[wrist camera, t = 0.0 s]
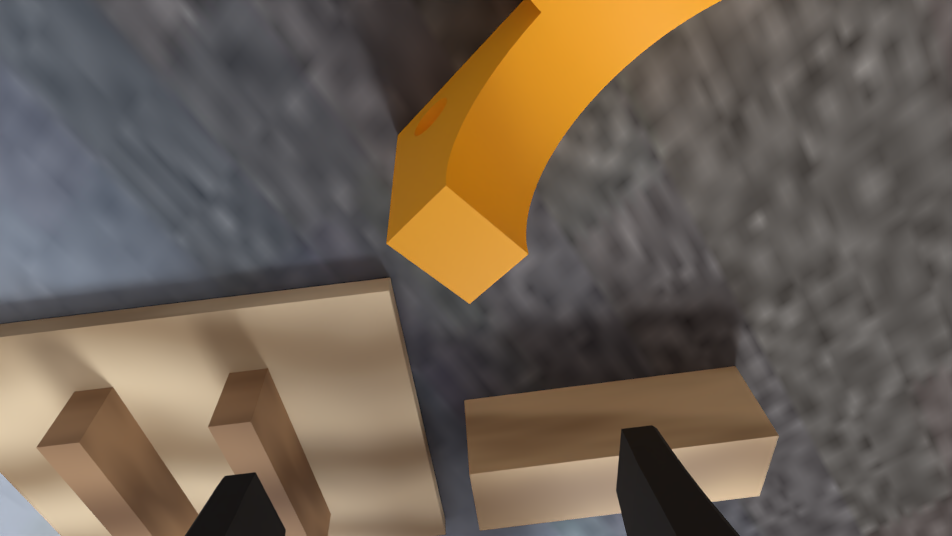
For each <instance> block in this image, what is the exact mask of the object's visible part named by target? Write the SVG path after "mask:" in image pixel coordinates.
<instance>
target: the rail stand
mask: <svg viewBox="0 0 952 536" xmlns="http://www.w3.org/2000/svg"><path fill="white" fill-rule="evenodd" d="M253 472H256V474H257V476H258V478H259V479H260V481H261V483H262V485H263V487H264V489H265V491H266V493H267V495H268V497H269V499H270V500H271V502H272V504H273V506H274V508H275V510H276V512H277V514H278V516H279V518H280V520H281V522H282V523H283V525H284V527H285V529H286V533H285V536H438V535H446V530H445V517H444V512H443V508H442V504H441V499H440V495H439V490H438V486H437V482H436V477H435V473H434V468H433V464H432V460H431V455H430V451H429V446H428V442H427V438H426V433H425V429H424V425H423V420H422V416H421V411H420V407H419V403H418V398H417V394H416V389H415V385H414V381H413V376H412V372H411V367H410V363H409V359H408V354H407V350H406V345H405V341H404V337H403V332H402V328H401V323H400V319H399V315H398V310H397V306H396V301H395V297H394V293H393V288H392V284H391V279H390V278H383V279H374V280H366V281H358V282H349V283H341V284H332V285H324V286H316V287H307V288H299V289H291V290H282V291H274V292H265V293H257V294H249V295H240V296H232V297H224V298H215V299H207V300H198V301H190V302H182V303H173V304H165V305H157V306H148V307H140V308H131V309H123V310H115V311H106V312H98V313H90V314H81V315H73V316H64V317H56V318H48V319H39V320H31V321H23V322H14V323H6V324H0V473H1V474H2V475H3V476H4V477H5V478H6V479H7V480H8V481H9V482H10V483H11V484H12V485H13V486H14V487H15V488H16V489H17V490H18V491H19V492H20V493H21V494H22V495H23V497H24V498H25V499H26V500H27V501H28V502H29V503H30V504H31V505H32V506H33V507H34V508H35V509H36V510H37V511H38V512H39V513H40V514H41V515H42V516H43V517H44V518H45V520H46V521H47V522H48V523H49V524H50V525H51V526H52V527H53V528H54V529H55V530H56V531H57V532H58V533H59V534H60V535H61V536H185V534H186V533H187V531H188V530H189V528H190V527H191V525H192V524H193V522H194V521H195V519H196V518H197V516H198V515H199V513H200V512H201V510H202V509H203V507H204V505H205V504H206V502H207V501H208V499H209V498H210V496H211V495H212V493H213V492H214V490H215V489H216V487H217V486H218V484H219V483H220V481H221V480H222V478H223V477H224V476H228V475H236V474H245V473H253Z"/></svg>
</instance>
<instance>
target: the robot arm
mask: <svg viewBox="0 0 952 536" xmlns="http://www.w3.org/2000/svg"><path fill="white" fill-rule="evenodd" d="M616 493H617V497H618V501H619V505H620V509H621V513H622V517H623V521H624V525H625V529H626V533H627V536H740V535H739V534H738V533H737V532H736V531H735V530H734V528H733V527H732V526H731V525H730V524H729V522H728V521H727V520H726V519H725V518H724V516H723V515H722V514H721V513H720V512H719V510H718V509H717V508H716V507H715V506H714V504H713V503H712V502H711V501H710V499H709V498H708V497H707V496H706V494H705V493H704V492H703V491H702V489H701V488H700V487H699V485H698V484H697V483H696V482H695V480H694V479H693V478H692V476H691V475H690V474H689V472H688V471H687V470H686V468H685V467H684V466H683V464H682V463H681V462H680V460H679V459H678V458H677V456H676V455H675V454H674V452H673V451H672V449H671V448H670V447H669V445H668V444H667V442H666V441H665V439H664V438H663V437H662V435H661V434H660V432H659V431H658V429H657V428H656V427H654V426H653V425H649V426H641V427H632V428H624V429H621V438H620V450H619V461H618V473H617V485H616ZM285 533H286V529H285V527H284V525H283V523H282V522H281V520H280V518H279V516H278V514H277V512H276V510H275V508H274V506H273V504H272V502H271V500H270V499H269V497H268V495H267V493H266V491H265V489H264V487H263V485H262V483H261V481H260V479H259V478H258V476H257V474H256V472H253V473H245V474H236V475H228V476H224V477H223V478H222V480H221V481H220V483H219V484H218V486H217V487H216V489H215V490H214V492H213V493H212V495H211V496H210V498H209V499H208V501H207V502H206V504H205V505H204V507H203V509H202V510H201V512H200V513H199V515H198V516H197V518H196V519H195V521H194V522H193V524H192V525H191V527H190V528H189V530H188V531H187V533H186V534H185V536H285Z"/></svg>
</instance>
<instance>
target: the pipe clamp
mask: <svg viewBox="0 0 952 536" xmlns="http://www.w3.org/2000/svg"><path fill="white" fill-rule="evenodd" d="M719 1H721V0H523V1H522V2H521V3H520V4H519V5H518V7H517V8H516V9H515V10H514V11H513V12H512V13H511V14H510V15H509V16H508V17H507V18H506V19H505V21H504V22H503V23H502V24H501V25H500V26H499V27H498V28H497V29H496V30H495V31H494V32H493V33H492V35H491V36H490V37H489V38H488V39H487V40H486V41H485V42H484V43H483V44H482V45H481V46H480V47H479V48H478V50H477V51H476V52H475V53H474V54H473V55H472V56H471V57H470V58H469V59H468V60H467V61H466V62H465V64H464V65H463V66H462V67H461V68H460V69H459V70H458V71H457V72H456V73H455V74H454V75H453V76H452V78H451V79H450V80H449V81H448V82H447V83H446V84H445V85H444V86H443V87H442V88H441V89H440V90H439V92H438V93H437V94H436V95H435V96H434V97H433V98H432V99H431V100H430V101H429V102H428V103H427V104H426V105H425V107H424V108H423V109H422V110H421V111H420V112H419V113H418V114H417V115H416V116H415V117H414V118H413V119H412V121H411V122H410V123H409V124H408V125H407V126H406V127H405V128H404V129H403V130H402V131H401V132H400V133H399V135H398V139H397V148H396V158H395V167H394V177H393V186H392V195H391V205H390V214H389V223H388V233H387V242H386V244H388V245H389V246H390V247H392V248H393V249H394V250H396V251H397V252H399V253H400V254H401V255H403V256H404V257H406V258H407V259H408V260H410V261H411V262H412V263H414V264H415V265H417V266H418V267H419V268H421V269H422V270H424V271H425V272H426V273H428V274H429V275H430V276H432V277H433V278H435V279H436V280H437V281H439V282H440V283H441V284H443V285H444V286H446V287H447V288H448V289H450V290H451V291H453V292H454V293H455V294H457V295H458V296H459V297H461V298H462V299H464V300H465V301H466V302H468V303H469V304H470V303H471V302H472V301H474V300H475V299H476V298H477V297H478V296H480V295H481V294H482V293H483V292H484V291H485V290H487V289H488V288H489V287H490V286H491V285H493V284H494V283H495V282H496V281H497V280H498V279H500V278H501V277H502V276H503V275H504V274H506V273H507V272H508V271H509V270H510V269H511V268H513V267H514V266H515V265H516V264H517V263H519V262H520V261H521V260H522V259H523V258H524V257H526V256H527V255H528V249H527V244H526V225H527V217H528V212H529V207H530V203H531V200H532V196H533V193H534V191H535V188H536V186H537V183H538V181H539V178H540V176H541V174H542V172H543V170H544V168H545V166H546V164H547V162H548V160H549V158H550V157H551V155H552V153H553V152H554V150H555V148H556V147H557V145H558V144H559V142H560V141H561V139H562V138H563V136H564V135H565V133H566V132H567V130H568V129H569V128H570V126H571V125H572V124H573V122H574V121H575V120H576V119H577V117H578V116H579V115H580V114H581V112H582V111H583V110H584V109H585V108H586V106H587V105H588V104H589V103H590V102H591V101H592V100H593V99H594V97H595V96H596V95H597V94H598V93H599V92H600V91H601V90H602V89H603V88H604V87H605V86H606V85H607V84H608V83H609V82H610V81H611V80H612V79H613V78H614V77H615V76H616V75H617V74H618V73H619V72H620V71H621V70H622V69H623V68H625V67H626V66H627V65H628V64H629V63H630V62H631V61H633V60H634V59H635V58H636V57H637V56H638V55H640V54H641V53H642V52H643V51H645V50H646V49H647V48H648V47H650V46H651V45H652V44H653V43H655V42H656V41H657V40H659V39H660V38H661V37H663V36H664V35H666V34H667V33H668V32H670V31H671V30H673V29H674V28H676V27H677V26H679V25H680V24H682V23H683V22H685V21H686V20H688V19H689V18H691V17H693V16H694V15H696V14H698V13H699V12H701V11H703V10H704V9H706V8H708V7H710V6H712V5H713V4H715V3H717V2H719Z"/></svg>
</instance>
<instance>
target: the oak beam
mask: <svg viewBox="0 0 952 536" xmlns="http://www.w3.org/2000/svg"><path fill="white" fill-rule="evenodd" d="M464 403H465V418H466V432H467V446H468V461H469V475H470V480H471V486H472V491H473V497H474V502H475V507H476V513H477V518H478V524H479V529H480V531H481V530H489V529H497V528H505V527H514V526H522V525H530V524H538V523H546V522H554V521H562V520H570V519H578V518H586V517H594V516H602V515H610V514H618V513H621V509H620V505H619V501H618V497H617V493H616V485H617V473H618V461H619V450H620V438H621V429H624V428H632V427H641V426H649V425H653V426H654V427H656V428H657V429H658V431H659V432H660V434H661V435H662V437H663V438H664V439H665V441H666V442H667V444H668V445H669V447H670V448H671V449H672V451H673V452H674V454H675V455H676V456H677V458H678V459H679V460H680V462H681V463H682V464H683V466H684V467H685V468H686V470H687V471H688V472H689V474H690V475H691V476H692V478H693V479H694V480H695V482H696V483H697V484H698V485H699V487H700V488H701V489H702V491H703V492H704V493H705V494H706V496H707V497H708V498H709V499H710V501H711V502H714V501H722V500H730V499H738V498H746V497H754V496H760V493H761V489H762V486H763V483H764V480H765V477H766V474H767V471H768V468H769V465H770V461H771V458H772V455H773V452H774V449H775V446H776V443H777V440H778V437H779V435H778V434H777V432H776V431H775V429H774V427H773V426H772V424H771V423H770V421H769V419H768V418H767V416H766V414H765V413H764V411H763V410H762V408H761V406H760V405H759V403H758V402H757V400H756V398H755V397H754V395H753V394H752V392H751V390H750V389H749V387H748V386H747V384H746V382H745V381H744V379H743V378H742V376H741V374H740V373H739V371H738V370H737V368H736V366H732V367H725V368H717V369H709V370H701V371H693V372H685V373H677V374H669V375H661V376H653V377H645V378H637V379H629V380H621V381H613V382H605V383H598V384H590V385H582V386H574V387H566V388H558V389H550V390H542V391H534V392H526V393H518V394H510V395H502V396H494V397H486V398H478V399H470V400H464Z"/></svg>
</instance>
